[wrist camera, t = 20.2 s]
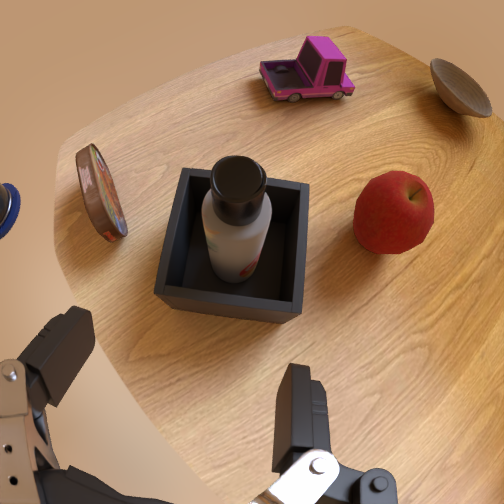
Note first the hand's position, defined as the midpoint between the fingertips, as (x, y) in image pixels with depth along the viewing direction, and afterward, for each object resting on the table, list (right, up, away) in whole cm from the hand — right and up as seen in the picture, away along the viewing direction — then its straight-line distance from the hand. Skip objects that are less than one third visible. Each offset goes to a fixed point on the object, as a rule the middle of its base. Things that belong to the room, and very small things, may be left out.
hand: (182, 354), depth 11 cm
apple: (+20, +6, +32) cm, 38 cm away
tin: (-18, +11, +30) cm, 37 cm away
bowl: (+50, +39, +45) cm, 78 cm away
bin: (0, +2, +28) cm, 29 cm away
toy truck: (+13, +35, +41) cm, 55 cm away
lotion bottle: (0, +3, +28) cm, 28 cm away
